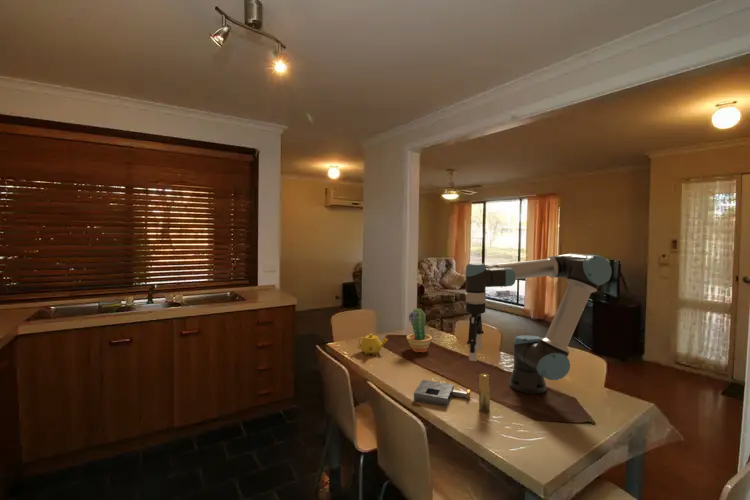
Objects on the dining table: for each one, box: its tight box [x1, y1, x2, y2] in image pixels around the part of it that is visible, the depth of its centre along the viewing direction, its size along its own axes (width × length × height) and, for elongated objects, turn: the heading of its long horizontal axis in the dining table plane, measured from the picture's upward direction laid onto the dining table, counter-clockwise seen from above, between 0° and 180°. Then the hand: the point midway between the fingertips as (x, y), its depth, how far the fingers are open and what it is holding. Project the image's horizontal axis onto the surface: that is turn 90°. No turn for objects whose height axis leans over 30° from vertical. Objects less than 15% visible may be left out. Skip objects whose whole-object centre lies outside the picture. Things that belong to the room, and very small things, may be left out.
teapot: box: [357, 333, 389, 356], centre depth 204 cm, size 14×14×11 cm
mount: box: [413, 379, 455, 408], centre depth 149 cm, size 14×14×4 cm
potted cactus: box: [406, 308, 433, 353], centre depth 207 cm, size 15×15×25 cm
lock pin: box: [452, 389, 471, 400], centre depth 150 cm, size 13×3×3 cm, turn 67°
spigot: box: [478, 373, 491, 414], centre depth 137 cm, size 4×4×14 cm
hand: (475, 354), depth 139 cm, fingers open, 13 cm apart
